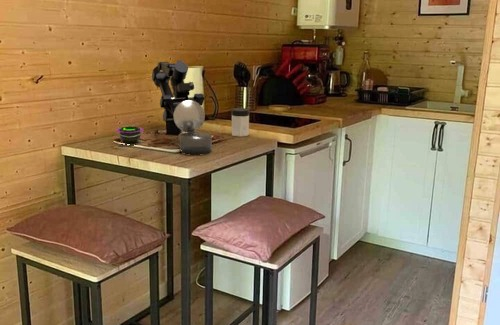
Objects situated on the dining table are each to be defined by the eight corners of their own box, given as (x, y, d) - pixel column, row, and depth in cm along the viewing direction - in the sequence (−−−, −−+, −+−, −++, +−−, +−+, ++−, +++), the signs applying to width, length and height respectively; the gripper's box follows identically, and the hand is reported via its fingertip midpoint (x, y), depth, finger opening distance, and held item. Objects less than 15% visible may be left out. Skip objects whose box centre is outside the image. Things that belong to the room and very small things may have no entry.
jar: (236, 137, 230) (236, 111, 226) (227, 134, 236) (227, 108, 233) (252, 135, 234) (253, 110, 231) (243, 132, 241) (243, 107, 238)
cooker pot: (175, 148, 209) (174, 132, 207) (204, 145, 214) (204, 130, 212) (185, 156, 196) (184, 140, 195) (216, 153, 202) (216, 137, 200)
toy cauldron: (112, 151, 203) (110, 124, 200) (112, 142, 217) (110, 117, 214) (150, 149, 207) (149, 123, 204) (147, 141, 221) (146, 116, 218)
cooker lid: (175, 133, 206) (173, 133, 208) (205, 130, 211) (203, 130, 214) (173, 101, 204) (171, 101, 207) (203, 99, 210) (201, 99, 212)
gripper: (160, 76, 209) (168, 106, 202) (203, 74, 216) (211, 104, 209) (156, 92, 218) (163, 122, 211) (197, 90, 225) (205, 119, 218)
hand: (186, 116), depth 212 cm, fingers open, 9 cm apart
